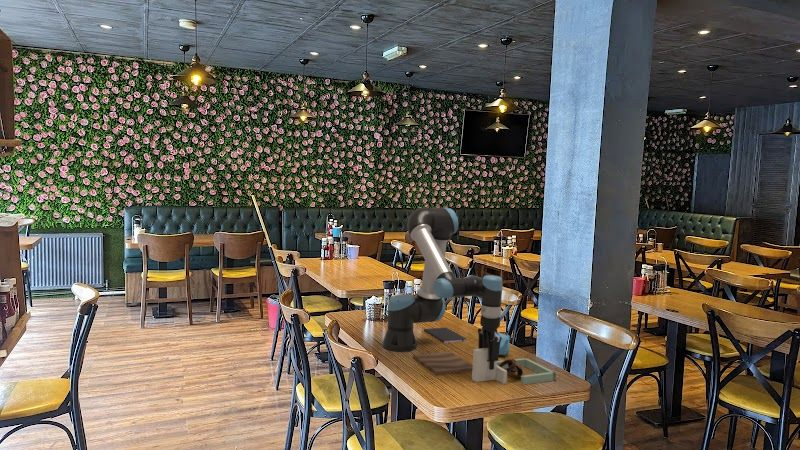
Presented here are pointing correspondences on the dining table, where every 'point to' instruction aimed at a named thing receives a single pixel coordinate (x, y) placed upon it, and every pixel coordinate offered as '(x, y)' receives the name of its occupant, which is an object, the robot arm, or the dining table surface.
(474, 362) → the grey l-shaped bookend
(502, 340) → the blue piggy bank
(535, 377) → the corral
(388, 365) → the dining table surface
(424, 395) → the dining table surface
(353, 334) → the dining table surface
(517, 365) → the brown twisted sculpture
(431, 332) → the notebook
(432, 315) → the robot arm
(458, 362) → the board
